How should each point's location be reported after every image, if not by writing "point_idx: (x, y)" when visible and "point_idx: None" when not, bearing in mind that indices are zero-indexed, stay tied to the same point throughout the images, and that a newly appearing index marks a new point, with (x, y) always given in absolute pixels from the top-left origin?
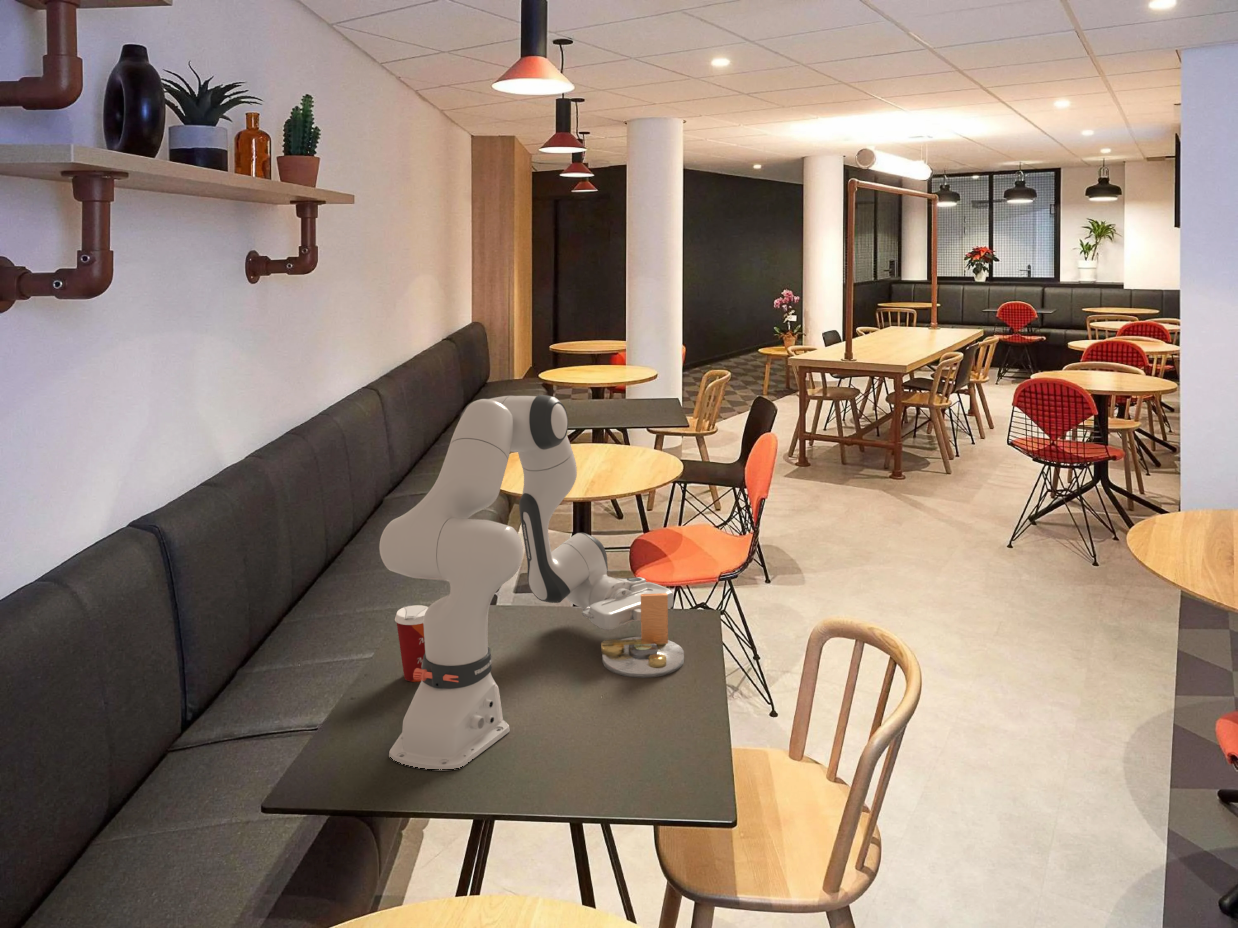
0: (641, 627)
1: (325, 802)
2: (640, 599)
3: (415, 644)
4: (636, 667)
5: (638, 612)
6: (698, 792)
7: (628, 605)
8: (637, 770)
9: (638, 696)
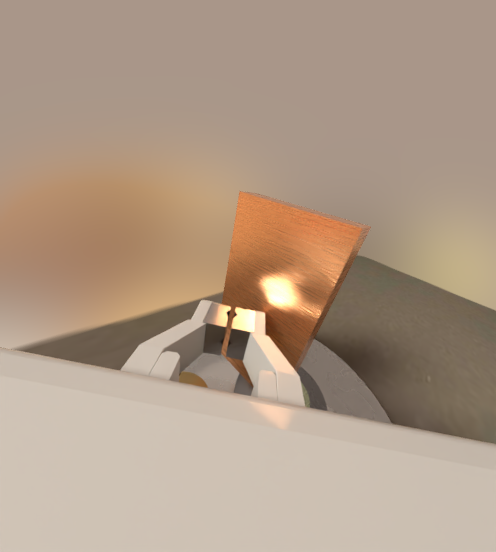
0: (304, 356)
1: None
2: (115, 473)
3: None
4: (336, 368)
5: (291, 372)
6: (365, 263)
7: (348, 458)
8: (401, 286)
9: (360, 334)
